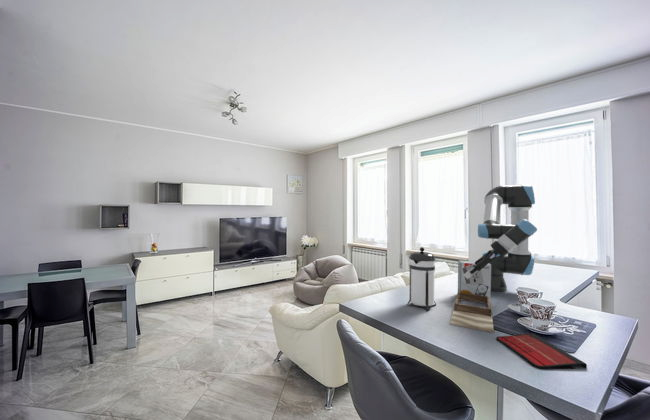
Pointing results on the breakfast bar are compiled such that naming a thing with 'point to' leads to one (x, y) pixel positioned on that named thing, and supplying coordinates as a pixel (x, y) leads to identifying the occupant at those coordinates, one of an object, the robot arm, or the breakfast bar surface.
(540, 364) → the binder
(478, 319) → the birch board
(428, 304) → the coffee press
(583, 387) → the breakfast bar surface
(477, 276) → the electrical switch
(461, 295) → the holder frame
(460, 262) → the hard drive box
